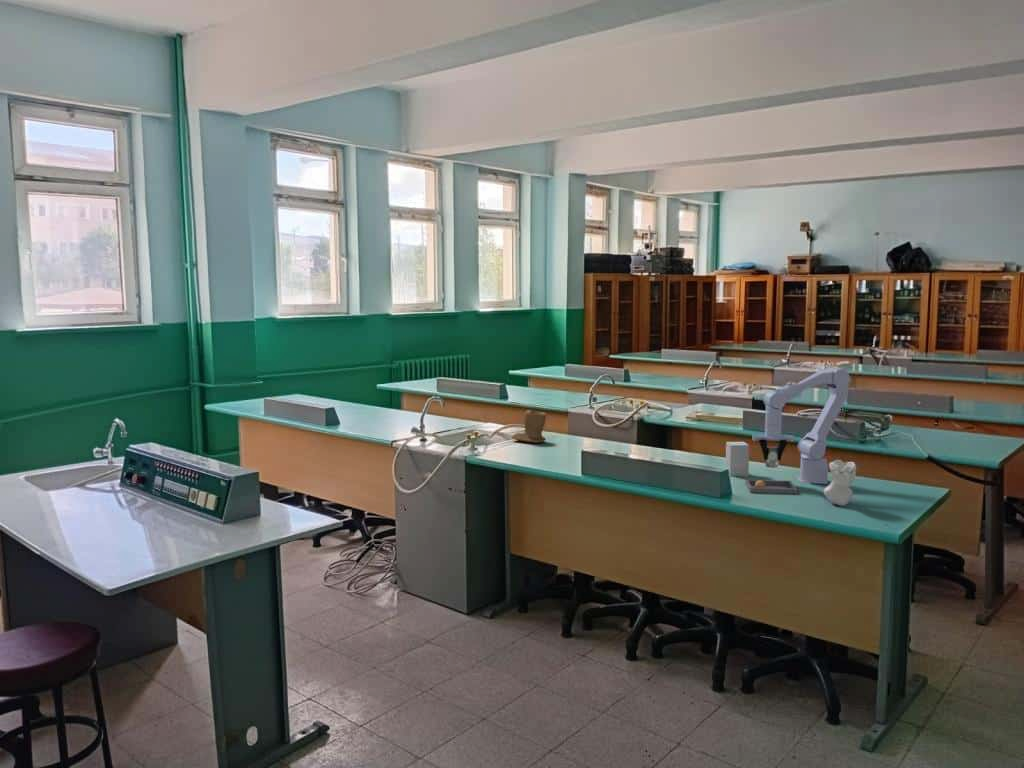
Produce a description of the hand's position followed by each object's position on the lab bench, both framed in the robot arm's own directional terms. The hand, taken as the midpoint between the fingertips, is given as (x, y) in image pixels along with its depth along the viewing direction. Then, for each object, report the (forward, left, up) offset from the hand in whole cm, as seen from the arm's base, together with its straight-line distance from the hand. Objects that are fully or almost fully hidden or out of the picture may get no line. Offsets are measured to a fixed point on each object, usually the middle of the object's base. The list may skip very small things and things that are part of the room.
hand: (772, 459), depth 295 cm
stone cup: (+99, -68, -9) cm, 120 cm away
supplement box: (+11, -12, -9) cm, 18 cm away
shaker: (0, 0, -2) cm, 3 cm away
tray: (+2, +10, -9) cm, 14 cm away
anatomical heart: (-18, +27, -9) cm, 34 cm away
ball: (+6, +12, -8) cm, 16 cm away
